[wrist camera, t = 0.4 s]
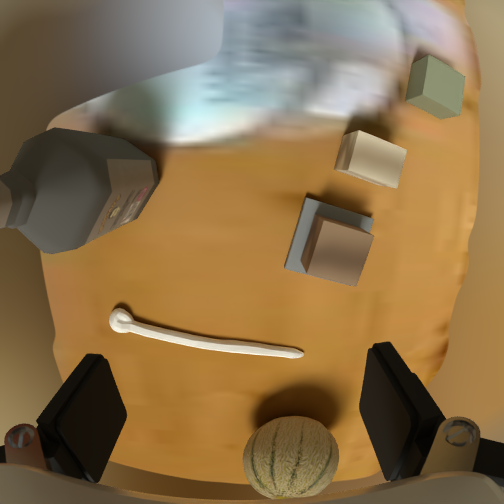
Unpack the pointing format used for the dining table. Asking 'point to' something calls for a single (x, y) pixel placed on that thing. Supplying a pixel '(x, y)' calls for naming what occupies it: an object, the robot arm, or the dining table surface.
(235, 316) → the dining table surface
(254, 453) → the cantaloupe
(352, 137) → the birch block
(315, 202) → the slate board
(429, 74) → the olive block
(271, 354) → the knobbed tapering rod
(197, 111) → the dining table surface
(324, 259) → the walnut block
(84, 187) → the liquor
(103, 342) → the dining table surface
